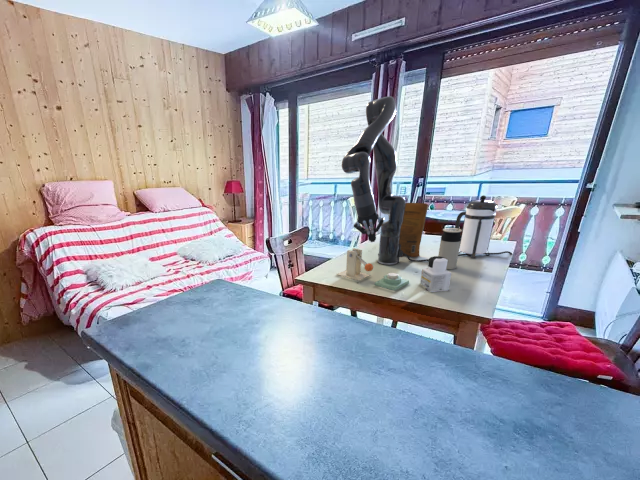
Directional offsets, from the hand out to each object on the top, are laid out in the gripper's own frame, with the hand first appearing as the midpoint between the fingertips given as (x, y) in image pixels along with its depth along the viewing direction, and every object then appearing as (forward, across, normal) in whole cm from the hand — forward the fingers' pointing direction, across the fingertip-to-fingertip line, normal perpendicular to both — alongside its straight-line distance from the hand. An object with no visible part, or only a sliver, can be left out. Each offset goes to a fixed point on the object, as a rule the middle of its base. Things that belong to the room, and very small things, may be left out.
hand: (372, 241), depth 140 cm
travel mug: (+29, -25, -23) cm, 45 cm away
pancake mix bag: (+28, -5, -38) cm, 48 cm away
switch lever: (+9, +7, +2) cm, 12 cm away
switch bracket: (+15, +12, +2) cm, 19 cm away
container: (+22, -21, +6) cm, 31 cm away
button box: (+18, -5, +9) cm, 21 cm away
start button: (+15, -6, +8) cm, 18 cm away
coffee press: (+36, -36, -47) cm, 69 cm away
